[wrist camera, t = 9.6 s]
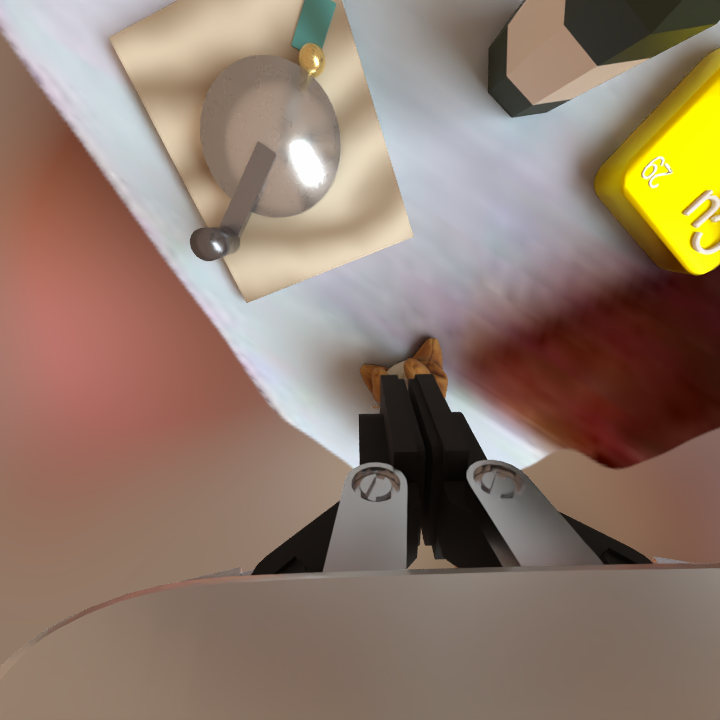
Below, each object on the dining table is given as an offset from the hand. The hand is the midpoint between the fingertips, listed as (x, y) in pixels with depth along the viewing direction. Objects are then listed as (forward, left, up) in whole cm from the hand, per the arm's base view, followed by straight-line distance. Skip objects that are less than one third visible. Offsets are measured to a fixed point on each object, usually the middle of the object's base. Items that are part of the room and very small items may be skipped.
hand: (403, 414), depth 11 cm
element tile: (+2, +34, -30) cm, 45 cm away
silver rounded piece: (-13, -5, -27) cm, 31 cm away
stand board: (-14, -4, -29) cm, 33 cm away
